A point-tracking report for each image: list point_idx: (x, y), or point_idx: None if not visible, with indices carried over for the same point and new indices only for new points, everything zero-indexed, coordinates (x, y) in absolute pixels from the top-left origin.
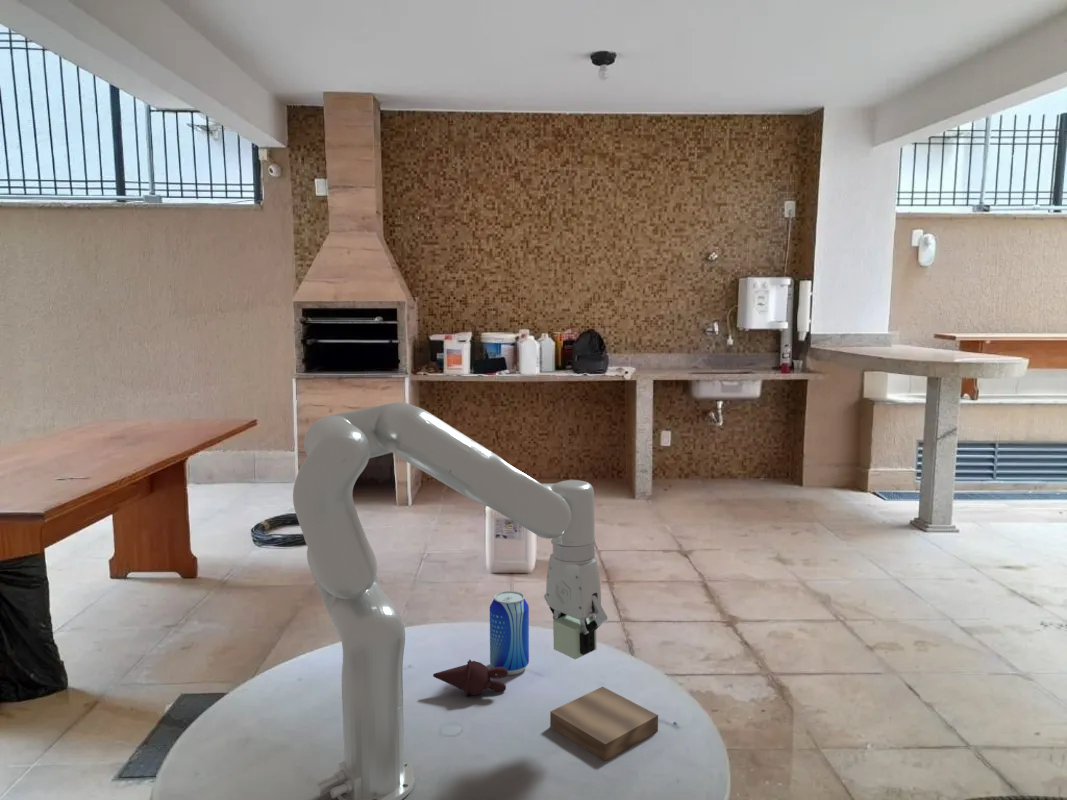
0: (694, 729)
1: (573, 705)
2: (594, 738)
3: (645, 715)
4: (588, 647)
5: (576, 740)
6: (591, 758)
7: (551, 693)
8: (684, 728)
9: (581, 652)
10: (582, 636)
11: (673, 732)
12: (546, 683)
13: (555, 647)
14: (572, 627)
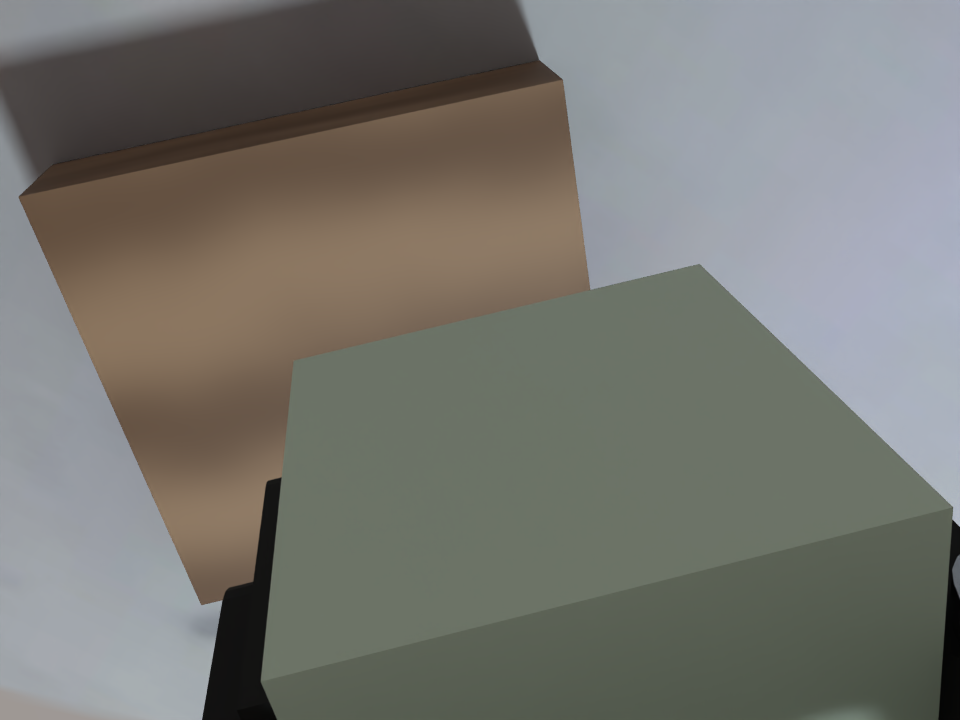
0: (151, 677)
1: (538, 258)
2: (122, 172)
3: (228, 552)
4: (222, 606)
5: (299, 114)
6: (110, 103)
7: (832, 261)
8: (178, 648)
9: (278, 486)
10: (246, 677)
11: (168, 595)
12: (933, 290)
13: (677, 285)
14: (391, 687)
